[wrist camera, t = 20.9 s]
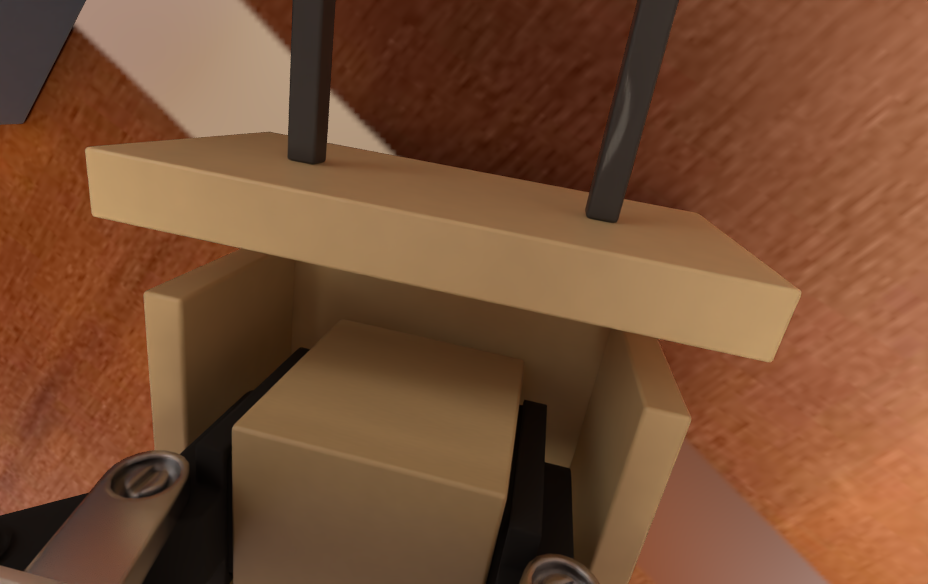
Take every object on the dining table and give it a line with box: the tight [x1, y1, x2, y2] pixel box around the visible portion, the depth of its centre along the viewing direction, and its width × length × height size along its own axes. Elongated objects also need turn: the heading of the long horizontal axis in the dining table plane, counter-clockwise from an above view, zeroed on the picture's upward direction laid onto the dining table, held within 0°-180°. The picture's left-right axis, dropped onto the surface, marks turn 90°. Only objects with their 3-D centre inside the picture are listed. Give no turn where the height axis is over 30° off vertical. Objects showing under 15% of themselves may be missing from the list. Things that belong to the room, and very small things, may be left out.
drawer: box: [85, 0, 801, 584], centre depth 12 cm, size 20×11×6 cm, turn 170°
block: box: [232, 319, 525, 584], centre depth 11 cm, size 4×4×4 cm
